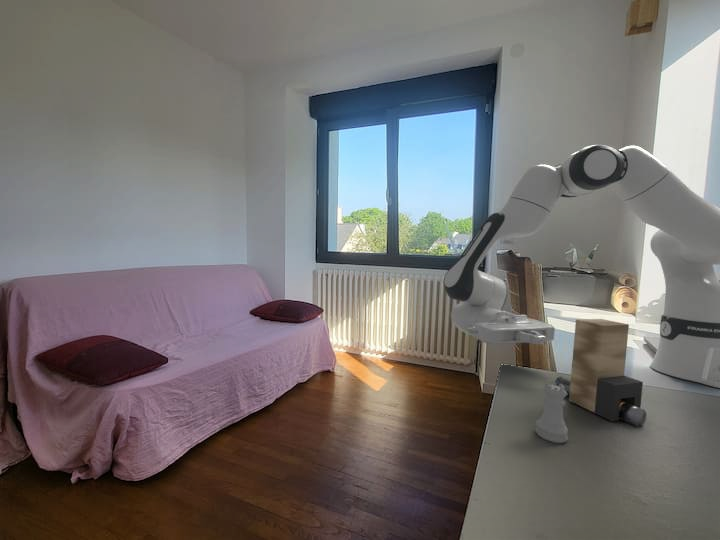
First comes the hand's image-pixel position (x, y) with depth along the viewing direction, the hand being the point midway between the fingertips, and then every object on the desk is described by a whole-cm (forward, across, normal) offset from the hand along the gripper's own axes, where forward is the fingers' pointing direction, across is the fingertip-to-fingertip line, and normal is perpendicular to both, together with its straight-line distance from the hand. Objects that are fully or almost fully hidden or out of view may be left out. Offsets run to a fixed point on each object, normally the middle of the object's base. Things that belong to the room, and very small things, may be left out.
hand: (541, 340), depth 75 cm
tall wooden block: (+13, 0, +9) cm, 16 cm away
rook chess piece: (+19, -18, +9) cm, 28 cm away
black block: (+17, 0, +9) cm, 19 cm away
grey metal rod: (+13, 0, +9) cm, 16 cm away
